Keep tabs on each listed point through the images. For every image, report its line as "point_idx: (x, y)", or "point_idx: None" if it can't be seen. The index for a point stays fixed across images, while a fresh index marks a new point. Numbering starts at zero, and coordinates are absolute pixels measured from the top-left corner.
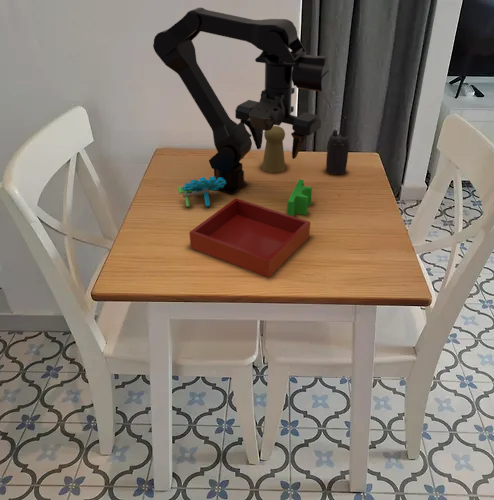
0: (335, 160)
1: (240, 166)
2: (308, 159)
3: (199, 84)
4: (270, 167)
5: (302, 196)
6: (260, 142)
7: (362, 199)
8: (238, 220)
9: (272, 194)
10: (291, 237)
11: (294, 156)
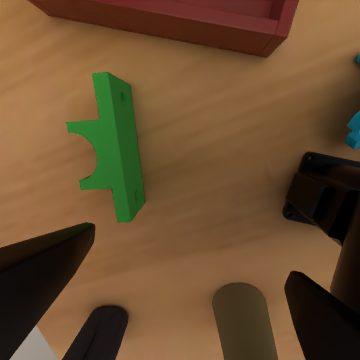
0: (89, 337)
1: (329, 220)
2: (178, 350)
3: None
4: (242, 294)
5: (82, 125)
6: (301, 314)
7: (23, 230)
8: (247, 6)
9: (203, 190)
10: None
11: (74, 226)
